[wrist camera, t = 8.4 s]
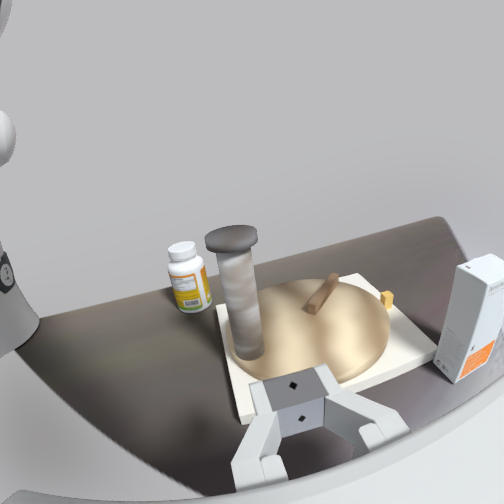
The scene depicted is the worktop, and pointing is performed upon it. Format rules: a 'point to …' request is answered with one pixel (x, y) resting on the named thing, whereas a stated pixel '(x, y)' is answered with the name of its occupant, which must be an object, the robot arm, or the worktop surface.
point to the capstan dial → (295, 317)
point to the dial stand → (387, 367)
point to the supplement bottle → (188, 278)
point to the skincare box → (472, 317)
